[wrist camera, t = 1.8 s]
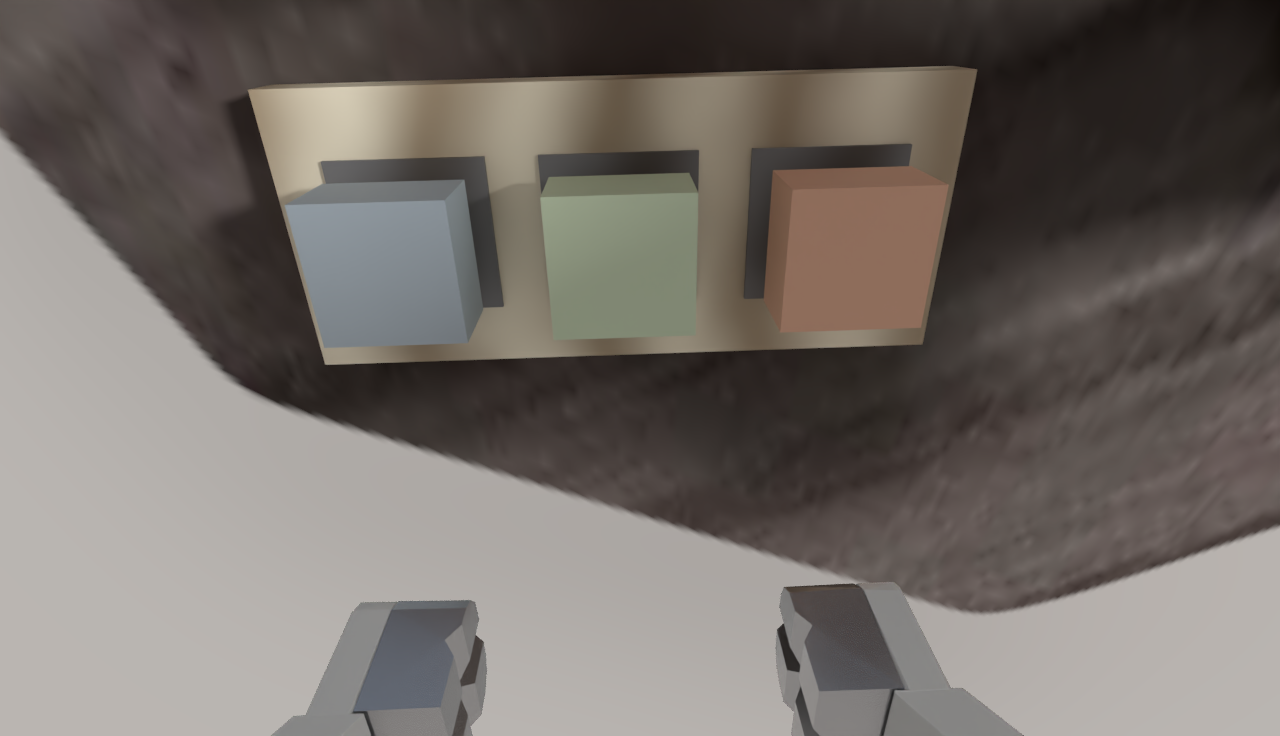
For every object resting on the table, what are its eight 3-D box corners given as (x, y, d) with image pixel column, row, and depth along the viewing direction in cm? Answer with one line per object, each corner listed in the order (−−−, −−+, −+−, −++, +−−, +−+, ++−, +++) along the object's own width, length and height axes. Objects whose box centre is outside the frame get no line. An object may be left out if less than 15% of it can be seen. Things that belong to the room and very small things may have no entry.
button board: (952, 65, 25) (980, 70, 23) (905, 325, 31) (924, 346, 29) (273, 84, 25) (244, 90, 23) (342, 344, 30) (323, 367, 28)
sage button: (689, 172, 23) (698, 192, 21) (687, 302, 26) (695, 335, 23) (548, 177, 23) (540, 197, 21) (560, 306, 26) (553, 340, 23)
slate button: (464, 179, 23) (444, 200, 21) (483, 309, 26) (468, 343, 23) (322, 183, 23) (284, 205, 21) (354, 313, 26) (324, 347, 23)
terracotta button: (911, 165, 24) (949, 184, 21) (889, 296, 26) (920, 327, 23) (772, 170, 24) (792, 189, 21) (763, 300, 26) (780, 332, 23)
